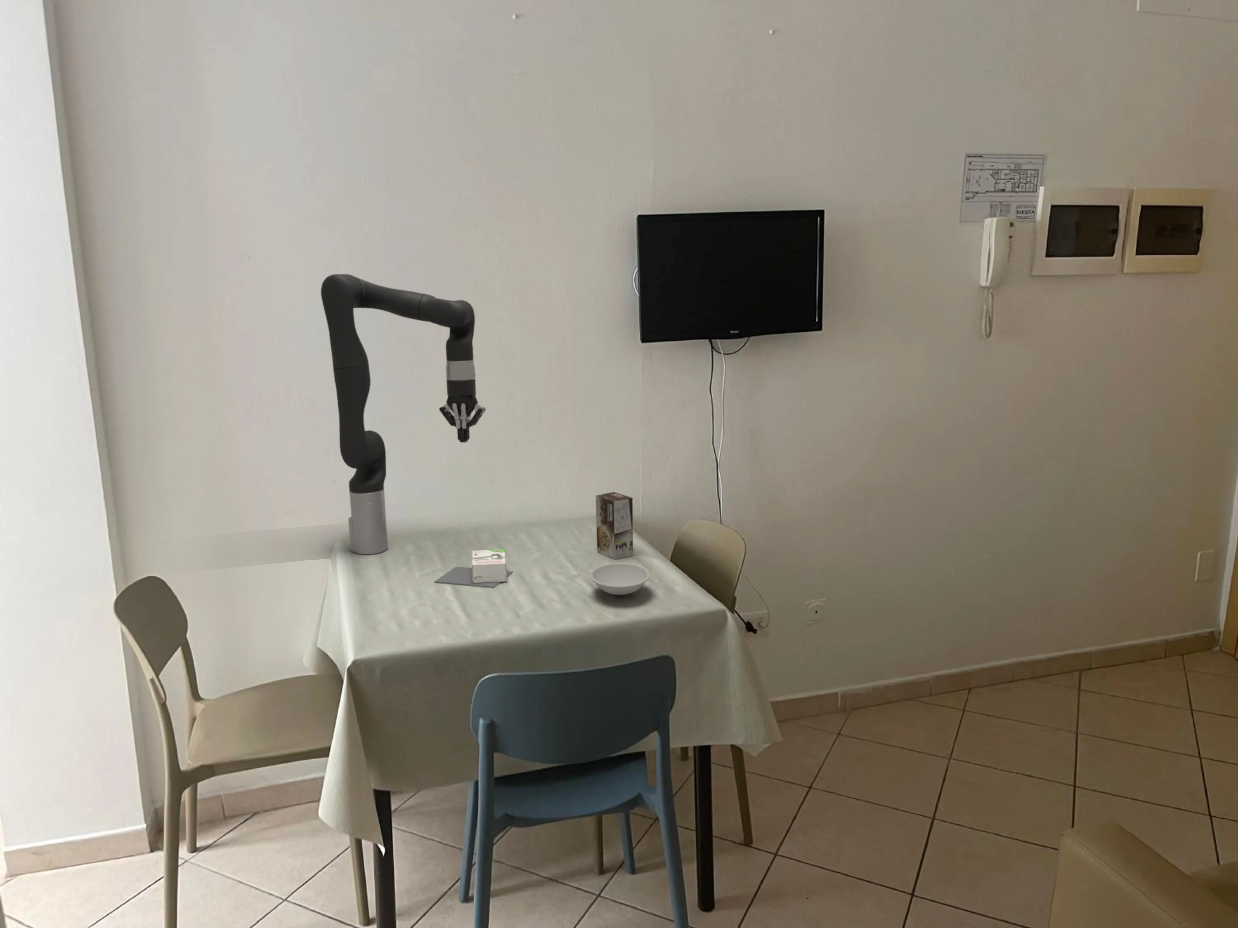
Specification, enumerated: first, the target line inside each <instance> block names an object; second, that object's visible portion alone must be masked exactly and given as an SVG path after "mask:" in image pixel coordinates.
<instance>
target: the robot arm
mask: <svg viewBox="0 0 1238 928" xmlns="http://www.w3.org/2000/svg"><path fill="white" fill-rule="evenodd" d="M320 296H321V297H320V298H321V301H322V306H323V310H324V315H325V319H326V324H327V328H328V334H329V343H330V351H331V360H332V371H333V377H334V384H335V391H336V399H337V409H338V422H339V423H338V425H339V429H338V430H339V451H340V456H341V458H342V460H343V462H344V463H345V465H347V467H349V468H351V469H355V472H354V474H353V476H352V477H351V478H350V480H349V481H348V491H349V503H350V505H349V506H350V517H349V518H348V520H347V521H348V532H349V534H348V535H349V546H350V547H349V548H350V552H352V553H353V552H354V553H356V554H357V555H358V554H359V555H373V554H374V555H375V554H379V553H383V552H386V551H387V550H388V549H389V546H388V526H387V512H386V499H385V482H386V476H387V456H386V455H387V453H386V452H387V451H386V446H385V443H384V439H383V438H382V436H381V435H380V434H379V433H378V432H376V431H374V430H366V429H365V420H364V419H365V418H364V417H365V415H364V414H365V408H366V405H367V401H368V398H369V394H370V389H371V385H372V384H371V380H372V379H371V374H370V365H369V364H370V363H369V358H368V354H367V352H366V349H365V347H364V345H363V343H362V341H361V339H360V337H359V335H358V331H357V330H356V329H357V328H356V323H355V315H354V313H355V311H354V309H374V310H380V311H384V312H387V313H390V314H392V315H395V316H399V317H402V318H406V319H410V320H415V321H422V322H429V323H432V324H435V325H437V326H441V327H444V328H448V329H449V335H448V336H449V337H448V338H447V340H446V341H445V357H446V364H445V374H446V375H445V378H446V394H447V399H446V403H445V404H444V405H443V406H440V407H439V409H438V410H439V412H440V413H441V414H442V417H444V419H445V420H446V422H447V423H448V424H449V425H450V426H451V427H455V428H456V430H457V432H456V433H457V440H458V441H459V443H467V442H468V441H469V440H470V428H471V427H473V426H476V425H477V423H478V421H480V419H481V417H482V416H483V415H484V413H485V412H486V407H483V406H481V405H480V404H479V401H478V399H477V396H476V395H477V388H476V369H475V362H474V345H473V341H474V336H475V335H474V333H475V326H476V325H475V323H476V316H475V311H474V308H473V306H472V305H471V303H469V302H468V301H466V300H463V299H459V300H449V299H444V298H439V297H435V296H434V295H430V294H427V293H423V292H416V291H411V290H405V289H398V288H392V287H386V286H383V285H379V284H375V283H372V282H370V281H367V280H365V279H362V278H359V277H357V276H354V275H352V274H347V273H335V274H333V273H332V274H331V275H328V276H327V277H326V278H324V280H323V281H322V284H321V288H320ZM472 413H474V415H472Z"/></svg>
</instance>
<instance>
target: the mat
mask: <svg viewBox="0 0 1238 928" xmlns="http://www.w3.org/2000/svg"><path fill="white" fill-rule="evenodd" d="M512 574H513V570H507V578H508V577H509V576H511V575H512ZM434 583H435V584H445V585H446V584H447V585H457V586H458V585H460V586H468V587H479V588H491V589H495V588H496V587H497V586H498V585H499V584H500V583H502V582H483V583H473V581H472V567H464V566H455V567H453V568H451V569H450V570H449V571H447V572H446V573H444V574H443V575H442V576H440V577H438V578H437V579H436V580H434Z"/></svg>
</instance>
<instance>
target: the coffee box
mask: <svg viewBox="0 0 1238 928" xmlns="http://www.w3.org/2000/svg"><path fill="white" fill-rule="evenodd" d="M633 500H634V497H631V496H628V495H625V494H621V493H618V492H615V491H611V492H605V493H602V494H598V495H595V518H596V519H595V522H596V523H595V524H596V550H597V551H596V552H597V553H599V554H602V555H604V556H606V557H608V558H611V559H612V560H613V559H614V560H617V559H622V558H623V559H624V558H628V557H632V556H634V534H633V533H634V525H633V523H634V522H633V521H634V516H633V513H634V511H633V505H634V504H633Z"/></svg>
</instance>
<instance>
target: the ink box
mask: <svg viewBox="0 0 1238 928" xmlns="http://www.w3.org/2000/svg"><path fill="white" fill-rule="evenodd" d="M471 553H472V554H471V568H472V581H473V583H483V582H501V583H502V582H503V583H504V582H507V581H508V577H507V571H508V570H507V569H508V568H507V557H506V549H505V548H500V549H484V550H483V549H482V550H480V549H479V550H472V551H471Z"/></svg>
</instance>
